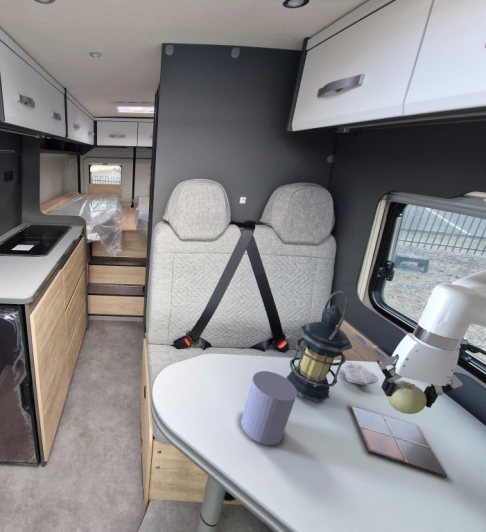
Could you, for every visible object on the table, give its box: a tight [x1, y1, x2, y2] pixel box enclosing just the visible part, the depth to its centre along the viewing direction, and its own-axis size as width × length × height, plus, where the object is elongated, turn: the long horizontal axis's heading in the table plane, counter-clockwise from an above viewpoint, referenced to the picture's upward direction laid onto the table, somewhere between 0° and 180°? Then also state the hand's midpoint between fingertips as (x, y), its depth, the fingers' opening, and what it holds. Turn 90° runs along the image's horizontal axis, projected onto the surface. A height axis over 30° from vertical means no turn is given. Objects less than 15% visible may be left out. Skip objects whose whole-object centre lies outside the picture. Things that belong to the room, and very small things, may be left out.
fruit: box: [386, 380, 427, 415], centre depth 75 cm, size 8×7×8 cm
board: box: [350, 405, 448, 479], centre depth 83 cm, size 16×16×1 cm
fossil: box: [341, 362, 379, 386], centre depth 105 cm, size 9×6×10 cm
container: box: [240, 370, 298, 446], centre depth 80 cm, size 10×10×15 cm
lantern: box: [286, 290, 353, 403], centre depth 92 cm, size 14×13×35 cm
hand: (405, 397), depth 76 cm, fingers closed on fruit, 7 cm apart
